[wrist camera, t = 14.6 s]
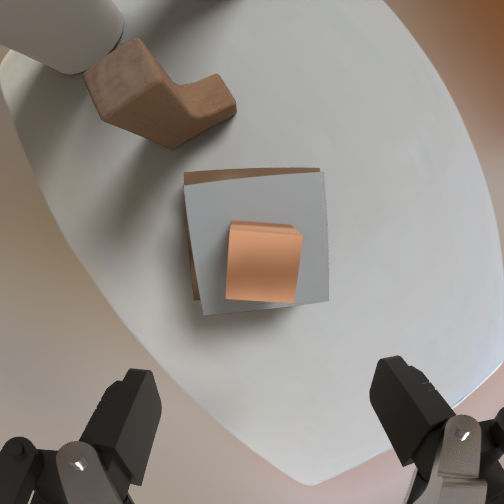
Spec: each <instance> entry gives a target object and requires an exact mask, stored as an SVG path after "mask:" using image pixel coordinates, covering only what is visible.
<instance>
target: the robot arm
mask: <svg viewBox="0 0 504 504" xmlns="http://www.w3.org/2000/svg"><path fill="white" fill-rule="evenodd" d="M370 402H371V405H372V407H373V409H374V411H375V412H376V414H377V416H378V418H379V420H380V422H381V424H382V426H383V428H384V430H385V432H386V434H387V436H388V438H389V440H390V442H391V444H392V446H393V448H394V450H395V452H396V454H397V456H398V458H399V460H400V462H401V464H402V466H403V467H404V466H407V465H409V464H412V463H415V465H416V468H415V470H414V472H413V475H412V478H411V481H410V484H409V487H408V490H407V493H406V496H405V498H404V501H403V504H504V469H503V468H502V466H501V464H500V463H499V461H498V459H500V457H501V456H502V455H503V454H504V407H503V408H502V409H501V410H500V411H499V412H498V414H497V416H496V417H495V418H494V419H492V420H487V421H482V422H477V421H476V419H474V418H473V417H471V416H468V415H456V414H455V413H454V411H453V410H452V409H451V407H450V406H449V405H448V404H447V402H446V401H445V400H444V399H443V397H442V396H441V395H440V394H439V392H438V391H437V390H435V387H434V386H433V385H432V384H431V383H429V380H428V379H427V377H426V376H425V375H424V374H423V373H422V372H421V371H419V370H418V369H416V368H415V367H413V366H408V365H407V363H406V362H405V361H404V360H403V358H402V357H401V356H393V357H388V358H383V359H380V360H379V361H378V363H377V367H376V370H375V374H374V378H373V381H372V384H371V388H370ZM161 410H162V407H161V400H160V397H159V393H158V390H157V387H156V383H155V380H154V376H153V373H152V372H151V371H150V370H142V369H132V368H131V369H129V370H128V372H127V374H126V375H125V377H124V379H123V381H116V382H114V383H113V384H112V385H111V386H110V387H108V388H107V389H106V391H105V393H104V395H103V396H102V398H101V401H100V402H99V404H98V405H97V409H95V411H94V413H93V415H92V417H91V418H90V421H89V422H88V424H87V426H86V428H85V430H84V432H83V434H82V436H81V438H80V439H79V441H74V442H69V443H67V444H65V445H63V446H62V447H61V448H60V449H59V451H53V450H41V449H36V448H35V446H34V445H33V444H32V442H30V441H29V440H28V439H27V438H24V437H14V438H12V439H10V440H8V441H7V442H6V443H5V445H4V446H3V448H2V450H1V452H0V504H28V501H29V499H30V496H31V493H32V491H33V490H34V491H35V492H34V495H33V498H32V500H31V503H30V504H135V503H134V502H133V500H132V498H131V496H130V495H129V493H128V489H129V486H130V484H134V485H139V486H141V485H142V481H143V477H144V473H145V470H146V466H147V462H148V459H149V455H150V452H151V448H152V444H153V441H154V437H155V434H156V430H157V427H158V424H159V420H160V417H161Z"/></svg>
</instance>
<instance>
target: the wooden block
mask: <svg viewBox="0 0 504 504" xmlns="http://www.w3.org/2000/svg"><path fill="white" fill-rule="evenodd" d="M83 79H84V82H85V84H86V86H87V89H88V91H89V93H90V96H91V98H92V100H93V102H94V105H95V107H96V109H97V111H98V113H99V116H100V118H101V120H103V121H104V122H107V123H109V124H112V125H114V126H117V127H119V128H122V129H125V130H127V131H130V132H132V133H134V134H137V135H139V136H142V137H144V138H147V139H149V140H151V141H154V142H156V143H158V144H161V145H163V146H165V147H168V148H170V149H175V148H176V147H178V146H180V145H181V144H183V143H185V142H186V141H188V140H190V139H191V138H193V137H195V136H196V135H198V134H200V133H202V132H203V131H205V130H207V129H209V128H211V127H212V126H214V125H216V124H218V123H220V122H222V121H224V120H225V119H227V118H229V117H231V116H233V115H235V114H236V113H237V109H236V101H235V99H234V98H233V96H232V95H231V93H230V91H229V90H228V88H227V86H226V85H225V83H224V82H223V80H222V79H221V77H220V75H218V74H214V75H211V76H209V77H207V78H204V79H202V80H200V81H198V82H195V83H191V84H185V85H178V84H175V83H173V82H172V80H171V79H170V78H169V76H168V75H167V74H166V72H165V71H164V70H163V68H162V67H161V66H160V64H159V63H158V62H157V60H156V59H155V57H154V56H153V55H152V53H151V52H150V51H149V50H148V48H147V47H146V46H145V44H144V43H143V42H142V40H141V39H139V38H137V37H135V38H132V39H130V40H129V41H127V42H126V43H124V44H123V45H121V46H120V47H118V48H117V49H115V50H114V51H112V52H111V53H109V54H108V55H107V56H105V57H104V58H103V59H101V60H100V61H98V62H97V63H96V64H95V65H93V66H92V67H91V68H89V69H88V70H87V71H86V72H85V73H84V74H83Z"/></svg>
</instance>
